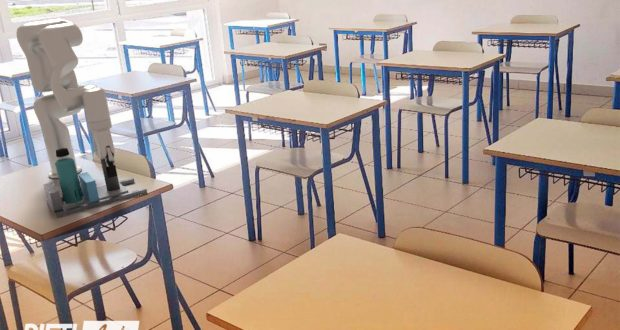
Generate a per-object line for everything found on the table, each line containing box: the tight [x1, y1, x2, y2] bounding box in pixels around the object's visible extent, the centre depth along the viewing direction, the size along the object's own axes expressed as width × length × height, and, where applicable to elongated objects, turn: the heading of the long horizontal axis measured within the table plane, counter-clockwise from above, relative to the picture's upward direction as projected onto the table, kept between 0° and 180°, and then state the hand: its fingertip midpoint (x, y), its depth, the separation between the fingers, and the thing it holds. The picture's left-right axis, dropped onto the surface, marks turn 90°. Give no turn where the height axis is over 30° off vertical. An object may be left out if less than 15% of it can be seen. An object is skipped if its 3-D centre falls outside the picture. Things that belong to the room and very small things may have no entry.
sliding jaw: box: [77, 156, 130, 203], centre depth 219 cm, size 12×13×14 cm
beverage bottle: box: [55, 148, 84, 205], centre depth 213 cm, size 6×7×20 cm
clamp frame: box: [43, 177, 148, 219], centre depth 219 cm, size 17×30×8 cm, turn 122°
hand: (110, 174), depth 220 cm, fingers closed on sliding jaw, 4 cm apart
